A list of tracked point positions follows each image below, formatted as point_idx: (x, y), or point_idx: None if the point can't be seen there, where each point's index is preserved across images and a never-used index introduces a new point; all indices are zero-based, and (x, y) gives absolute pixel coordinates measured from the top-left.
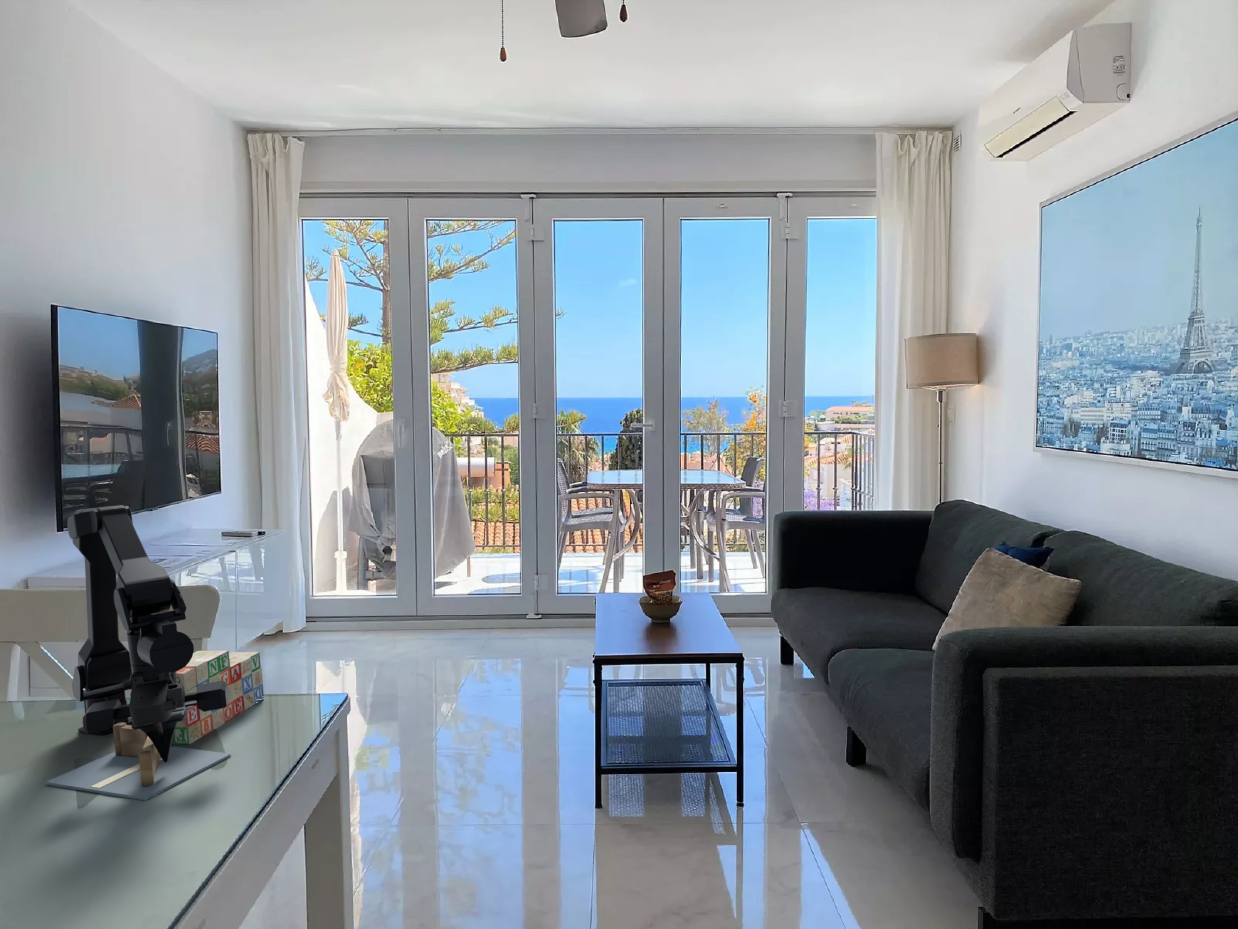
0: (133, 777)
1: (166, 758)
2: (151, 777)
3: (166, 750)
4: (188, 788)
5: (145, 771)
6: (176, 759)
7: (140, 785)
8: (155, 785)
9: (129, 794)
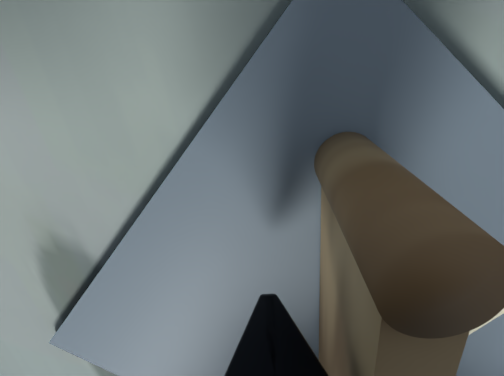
0: None
1: (260, 306)
2: (328, 159)
3: (253, 352)
4: (116, 46)
5: (377, 156)
6: None
7: None
8: (301, 132)
9: (436, 54)
